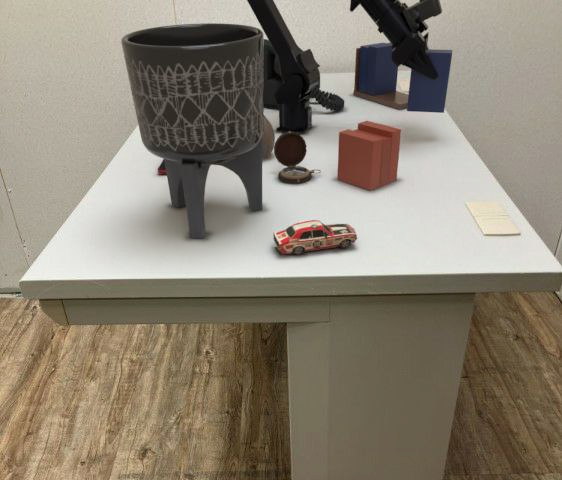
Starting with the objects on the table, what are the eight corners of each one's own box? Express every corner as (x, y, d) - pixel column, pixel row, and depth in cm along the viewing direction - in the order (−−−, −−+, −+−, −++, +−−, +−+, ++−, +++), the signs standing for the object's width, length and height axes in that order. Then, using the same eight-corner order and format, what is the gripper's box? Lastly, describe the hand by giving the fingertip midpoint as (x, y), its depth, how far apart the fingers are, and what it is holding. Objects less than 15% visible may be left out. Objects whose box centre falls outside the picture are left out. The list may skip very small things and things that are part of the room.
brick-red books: (337, 179, 111) (338, 129, 106) (363, 169, 115) (366, 120, 109) (370, 190, 106) (373, 138, 101) (396, 180, 110) (401, 129, 105)
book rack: (399, 109, 148) (404, 59, 141) (353, 95, 160) (355, 48, 153) (425, 104, 151) (430, 54, 144) (377, 90, 164) (380, 44, 157)
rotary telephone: (368, 98, 157) (372, 32, 148) (328, 118, 143) (330, 47, 134) (262, 85, 172) (260, 24, 163) (216, 102, 158) (211, 37, 149)
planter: (257, 245, 90) (246, 47, 74) (133, 238, 93) (96, 46, 77) (280, 196, 105) (275, 22, 89) (173, 191, 108) (149, 23, 92)
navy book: (406, 111, 125) (413, 52, 118) (407, 107, 127) (414, 49, 121) (443, 112, 123) (452, 53, 117) (444, 108, 126) (452, 49, 119)
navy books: (373, 95, 154) (376, 47, 148) (358, 91, 159) (360, 44, 152) (396, 91, 158) (400, 44, 151) (380, 86, 162) (383, 40, 155)
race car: (275, 252, 92) (270, 224, 89) (352, 233, 92) (348, 205, 89) (280, 267, 88) (274, 239, 85) (360, 248, 88) (357, 219, 85)
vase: (271, 162, 119) (269, 116, 114) (237, 161, 120) (234, 115, 115) (278, 151, 125) (277, 106, 119) (246, 150, 126) (243, 105, 120)
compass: (282, 185, 109) (281, 144, 105) (274, 171, 115) (273, 131, 111) (325, 181, 110) (325, 140, 106) (314, 167, 117) (315, 128, 112)
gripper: (417, -19, 105) (471, 53, 109) (422, -29, 119) (470, 36, 124) (368, 32, 111) (421, 98, 116) (379, 17, 125) (426, 76, 130)
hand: (436, 75), depth 121 cm, fingers closed on navy book, 3 cm apart
